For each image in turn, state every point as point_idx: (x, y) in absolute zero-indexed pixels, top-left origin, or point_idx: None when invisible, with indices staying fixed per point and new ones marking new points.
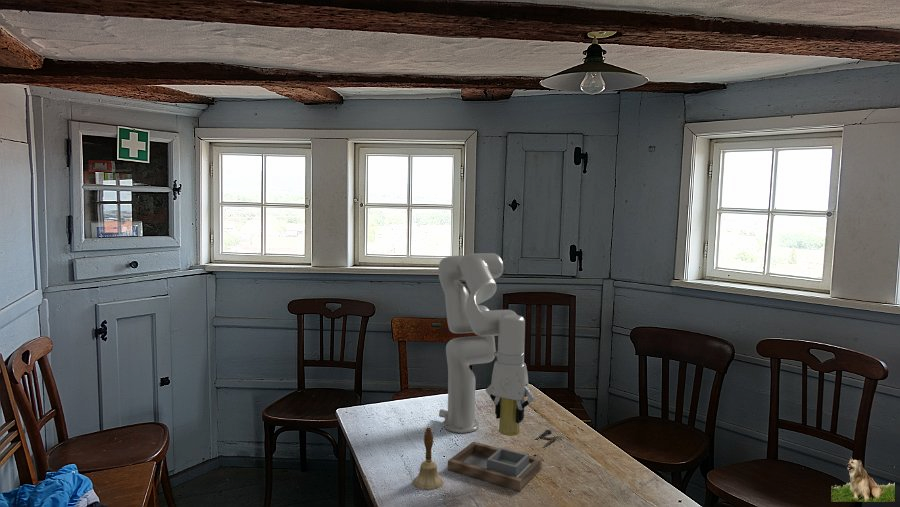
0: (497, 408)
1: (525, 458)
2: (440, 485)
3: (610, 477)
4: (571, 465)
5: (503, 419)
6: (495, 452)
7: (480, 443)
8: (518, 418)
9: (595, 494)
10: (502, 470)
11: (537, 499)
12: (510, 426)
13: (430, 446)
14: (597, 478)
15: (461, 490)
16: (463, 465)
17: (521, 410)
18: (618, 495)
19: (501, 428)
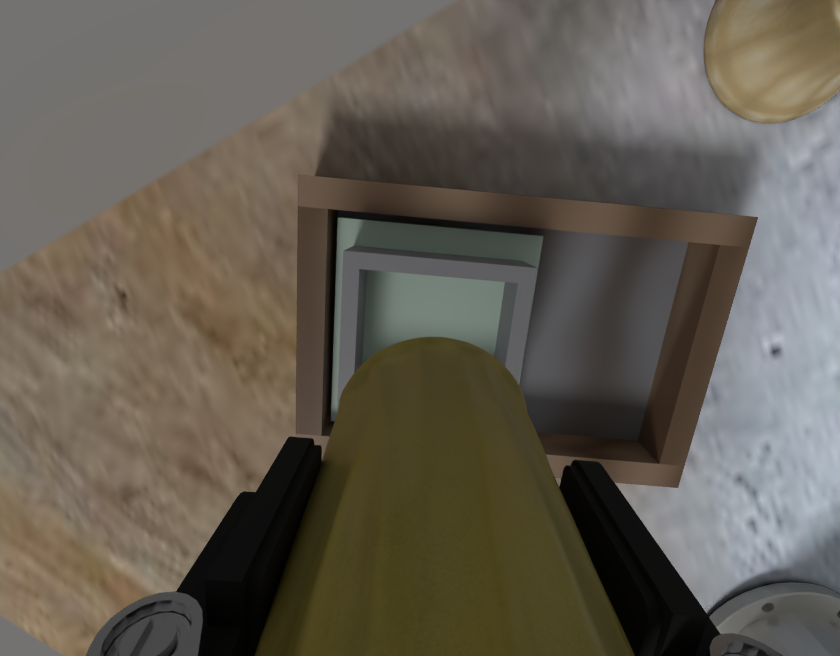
0: (650, 565)
1: (338, 379)
2: (710, 25)
3: (34, 481)
4: (210, 510)
5: (479, 413)
6: (518, 373)
7: (636, 483)
8: (269, 477)
9: (18, 317)
10: (431, 254)
11: (212, 146)
12: (383, 385)
13: None
14: (73, 452)
15: (585, 42)
16: (653, 208)
17: (172, 605)
18: None
19: (488, 370)
